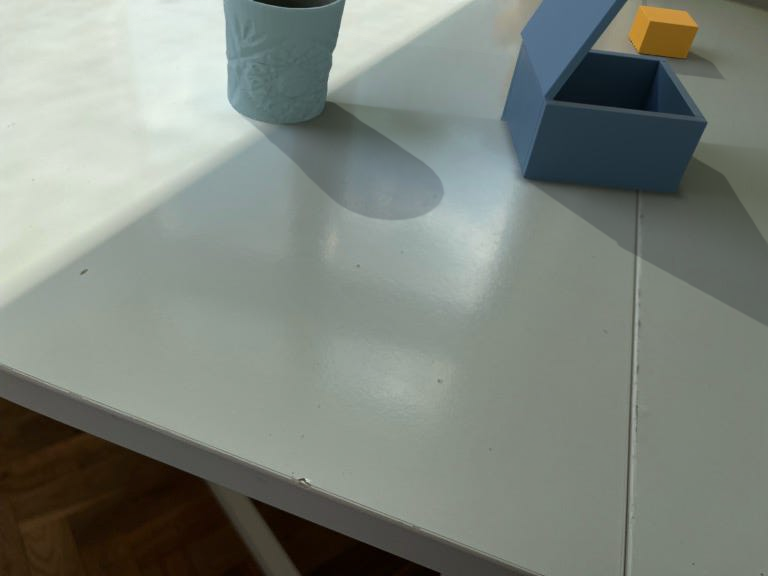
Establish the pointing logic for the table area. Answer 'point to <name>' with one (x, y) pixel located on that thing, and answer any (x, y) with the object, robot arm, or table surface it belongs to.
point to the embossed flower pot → (280, 56)
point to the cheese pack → (663, 32)
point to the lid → (565, 37)
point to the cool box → (605, 123)
